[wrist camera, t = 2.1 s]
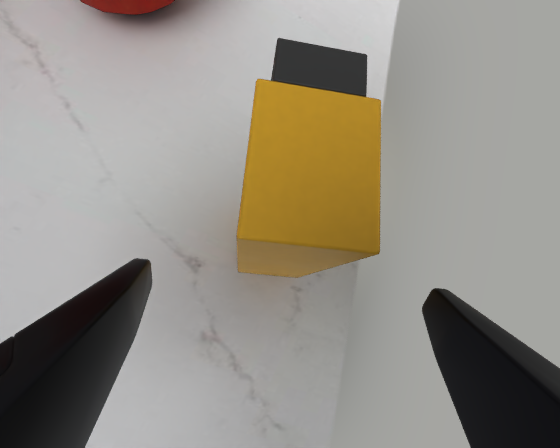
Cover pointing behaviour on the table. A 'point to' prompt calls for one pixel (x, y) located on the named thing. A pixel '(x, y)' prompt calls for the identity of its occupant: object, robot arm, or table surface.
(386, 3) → the table surface
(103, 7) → the apple
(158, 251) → the table surface
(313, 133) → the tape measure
